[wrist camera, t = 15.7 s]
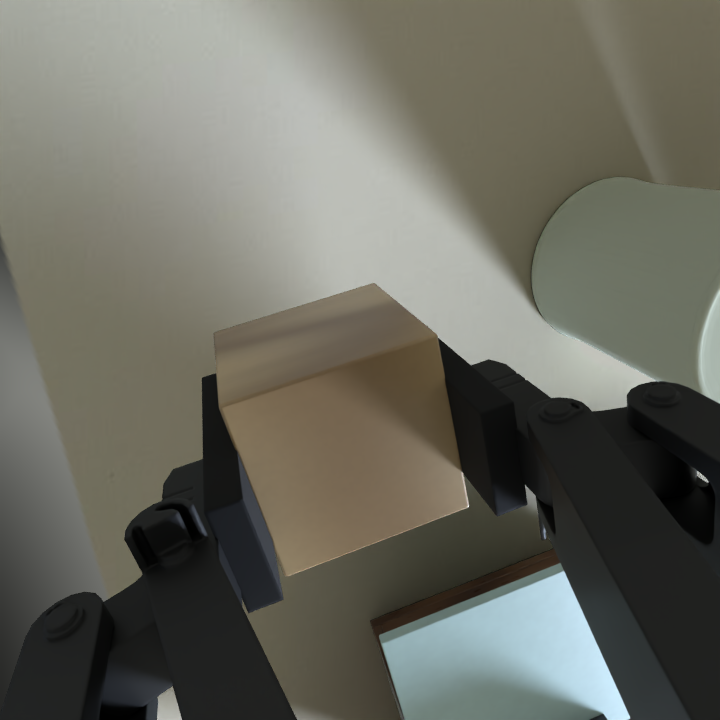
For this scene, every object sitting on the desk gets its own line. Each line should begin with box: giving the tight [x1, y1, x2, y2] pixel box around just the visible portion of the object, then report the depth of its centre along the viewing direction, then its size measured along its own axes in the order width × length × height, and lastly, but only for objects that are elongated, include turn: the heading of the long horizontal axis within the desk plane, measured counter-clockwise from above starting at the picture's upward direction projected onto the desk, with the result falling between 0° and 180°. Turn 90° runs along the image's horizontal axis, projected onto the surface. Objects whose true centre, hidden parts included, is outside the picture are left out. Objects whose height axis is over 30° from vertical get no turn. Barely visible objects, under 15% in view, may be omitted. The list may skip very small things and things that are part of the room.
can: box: [532, 177, 720, 403], centre depth 26 cm, size 9×9×12 cm
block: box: [214, 283, 469, 577], centre depth 15 cm, size 5×5×5 cm
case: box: [370, 549, 631, 720], centre depth 37 cm, size 15×13×9 cm
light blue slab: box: [379, 563, 630, 720], centre depth 27 cm, size 15×13×4 cm
